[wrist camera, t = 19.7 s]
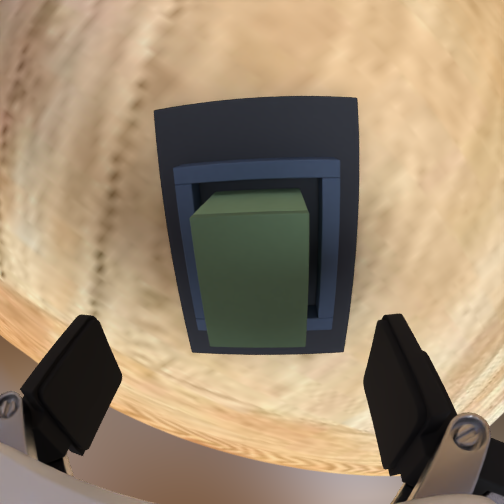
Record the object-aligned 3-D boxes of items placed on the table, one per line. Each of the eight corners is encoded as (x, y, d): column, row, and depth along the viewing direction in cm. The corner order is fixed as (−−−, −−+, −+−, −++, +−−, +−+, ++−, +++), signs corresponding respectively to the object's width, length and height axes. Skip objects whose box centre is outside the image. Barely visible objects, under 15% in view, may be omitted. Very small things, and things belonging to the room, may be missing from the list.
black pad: (160, 111, 17) (142, 109, 14) (352, 99, 16) (365, 94, 13) (195, 343, 24) (187, 366, 21) (341, 342, 22) (347, 366, 20)
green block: (215, 191, 17) (189, 217, 12) (299, 188, 17) (309, 213, 12) (225, 294, 20) (209, 346, 15) (300, 293, 20) (305, 347, 15)
